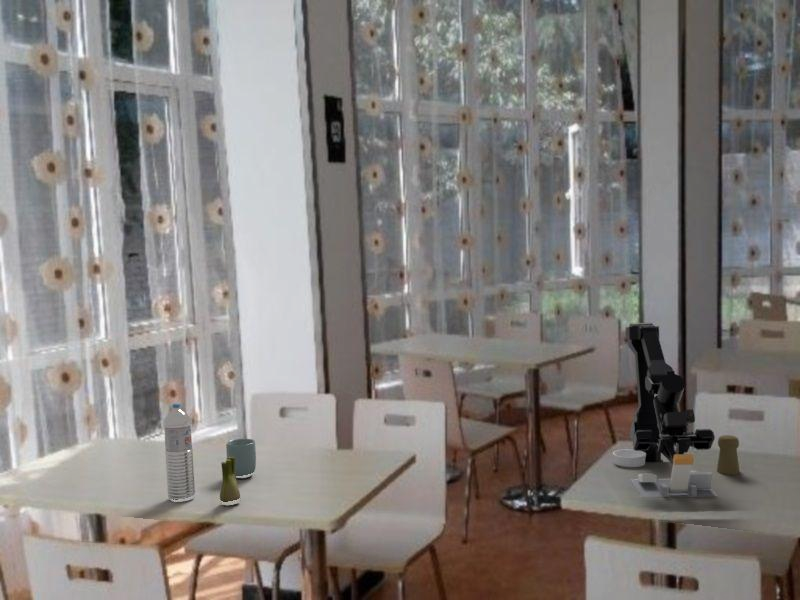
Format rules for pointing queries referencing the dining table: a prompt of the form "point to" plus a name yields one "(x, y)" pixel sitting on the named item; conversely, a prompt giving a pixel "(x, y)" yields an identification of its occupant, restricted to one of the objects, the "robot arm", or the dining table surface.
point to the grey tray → (662, 489)
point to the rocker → (647, 477)
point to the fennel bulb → (229, 481)
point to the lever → (680, 473)
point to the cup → (242, 455)
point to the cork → (728, 455)
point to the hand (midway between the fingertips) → (679, 470)
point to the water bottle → (179, 454)
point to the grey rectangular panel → (701, 479)
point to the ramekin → (629, 458)
